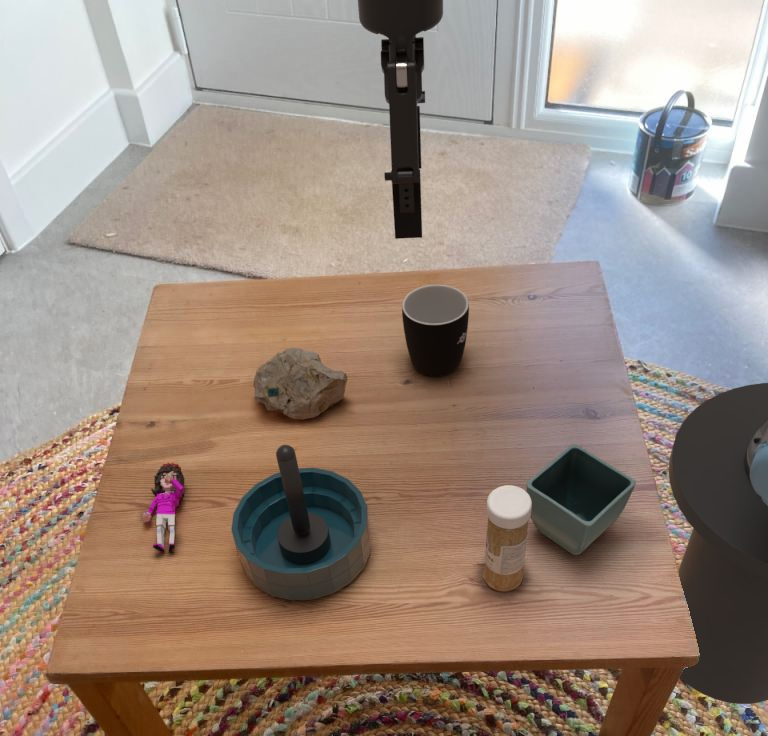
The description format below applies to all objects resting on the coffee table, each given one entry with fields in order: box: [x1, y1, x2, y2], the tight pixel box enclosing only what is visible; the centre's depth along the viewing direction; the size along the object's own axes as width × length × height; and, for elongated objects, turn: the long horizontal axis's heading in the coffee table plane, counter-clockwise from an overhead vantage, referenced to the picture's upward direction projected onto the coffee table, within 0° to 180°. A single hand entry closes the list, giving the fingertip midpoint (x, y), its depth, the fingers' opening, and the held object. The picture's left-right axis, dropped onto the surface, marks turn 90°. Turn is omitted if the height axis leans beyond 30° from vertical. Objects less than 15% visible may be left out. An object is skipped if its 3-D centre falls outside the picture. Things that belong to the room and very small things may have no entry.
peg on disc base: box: [275, 444, 331, 565], centre depth 93 cm, size 6×6×16 cm
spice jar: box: [482, 484, 532, 592], centre depth 90 cm, size 5×5×14 cm
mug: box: [401, 284, 470, 378], centre depth 117 cm, size 12×9×10 cm
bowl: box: [231, 467, 372, 601], centre depth 98 cm, size 15×15×6 cm
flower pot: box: [525, 443, 637, 556], centre depth 95 cm, size 9×9×9 cm
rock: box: [252, 347, 348, 420], centre depth 113 cm, size 12×7×10 cm, turn 76°
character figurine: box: [141, 462, 185, 554], centre depth 103 cm, size 6×5×12 cm
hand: (408, 200), depth 89 cm, fingers open, 13 cm apart
